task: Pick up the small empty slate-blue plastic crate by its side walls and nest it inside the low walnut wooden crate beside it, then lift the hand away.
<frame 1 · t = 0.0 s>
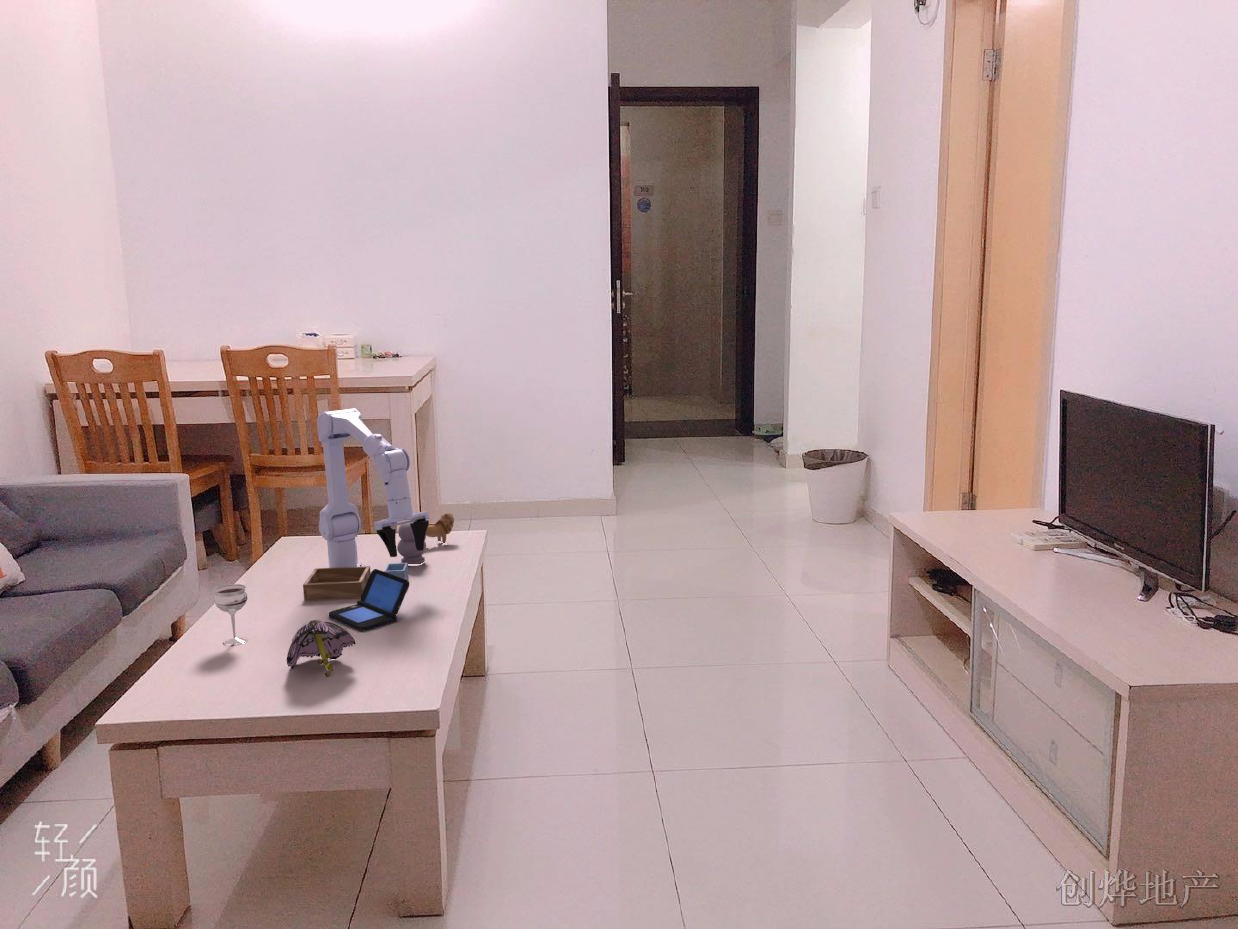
hand: (407, 553, 250), 11 cm above the table, tool pointing down, fingers open, 7 cm apart
dark domed piece: (320, 670, 206), on the table
grey rounded bulbous piece: (412, 564, 280), on the table
blue crate: (397, 583, 262), on the table
wineglass: (235, 642, 222), on the table
lion figurine: (433, 546, 298), on the table
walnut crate: (338, 590, 257), on the table
handheld game console: (369, 619, 236), on the table
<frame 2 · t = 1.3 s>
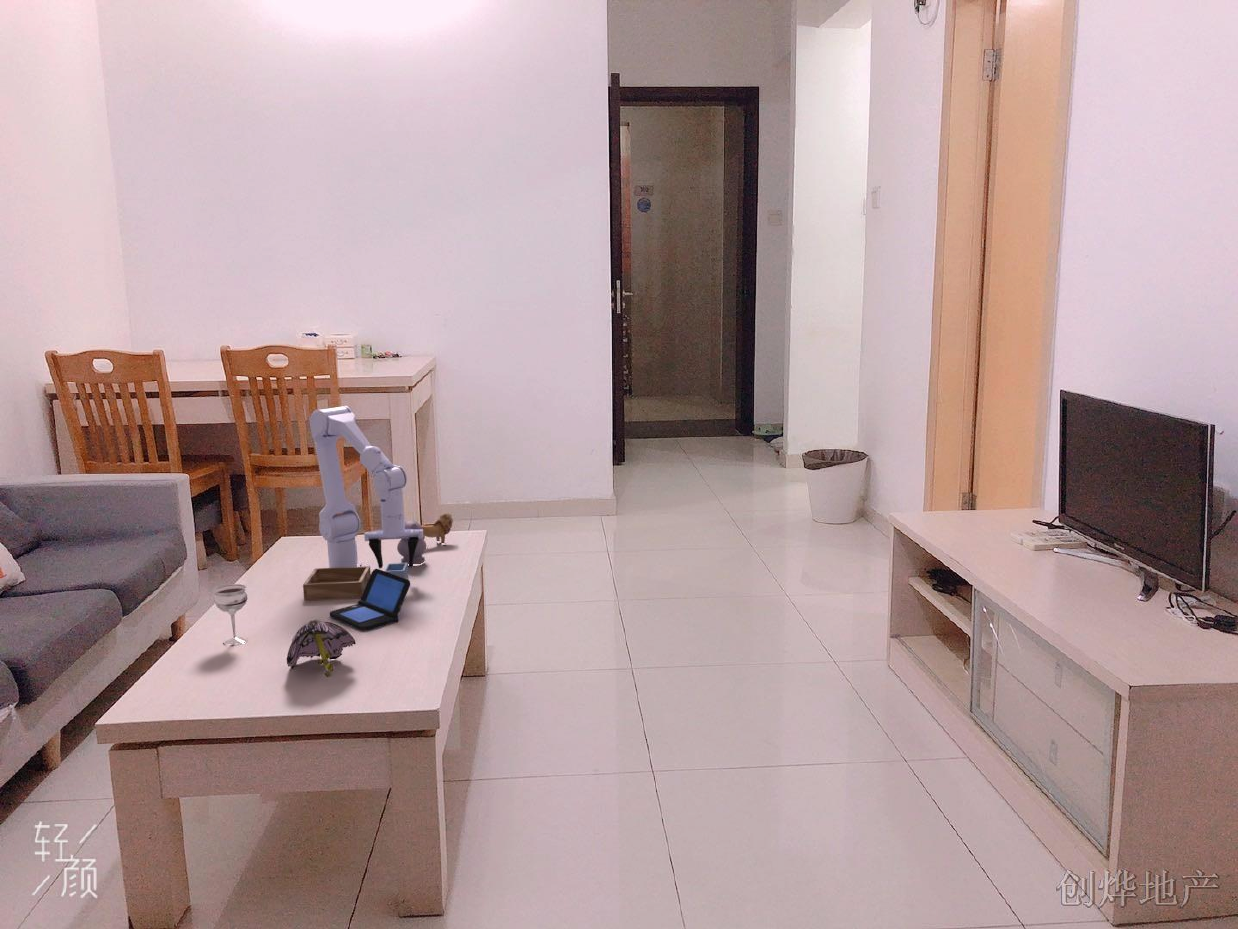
hand: (396, 566, 261), 4 cm above the table, tool pointing down, fingers open, 7 cm apart
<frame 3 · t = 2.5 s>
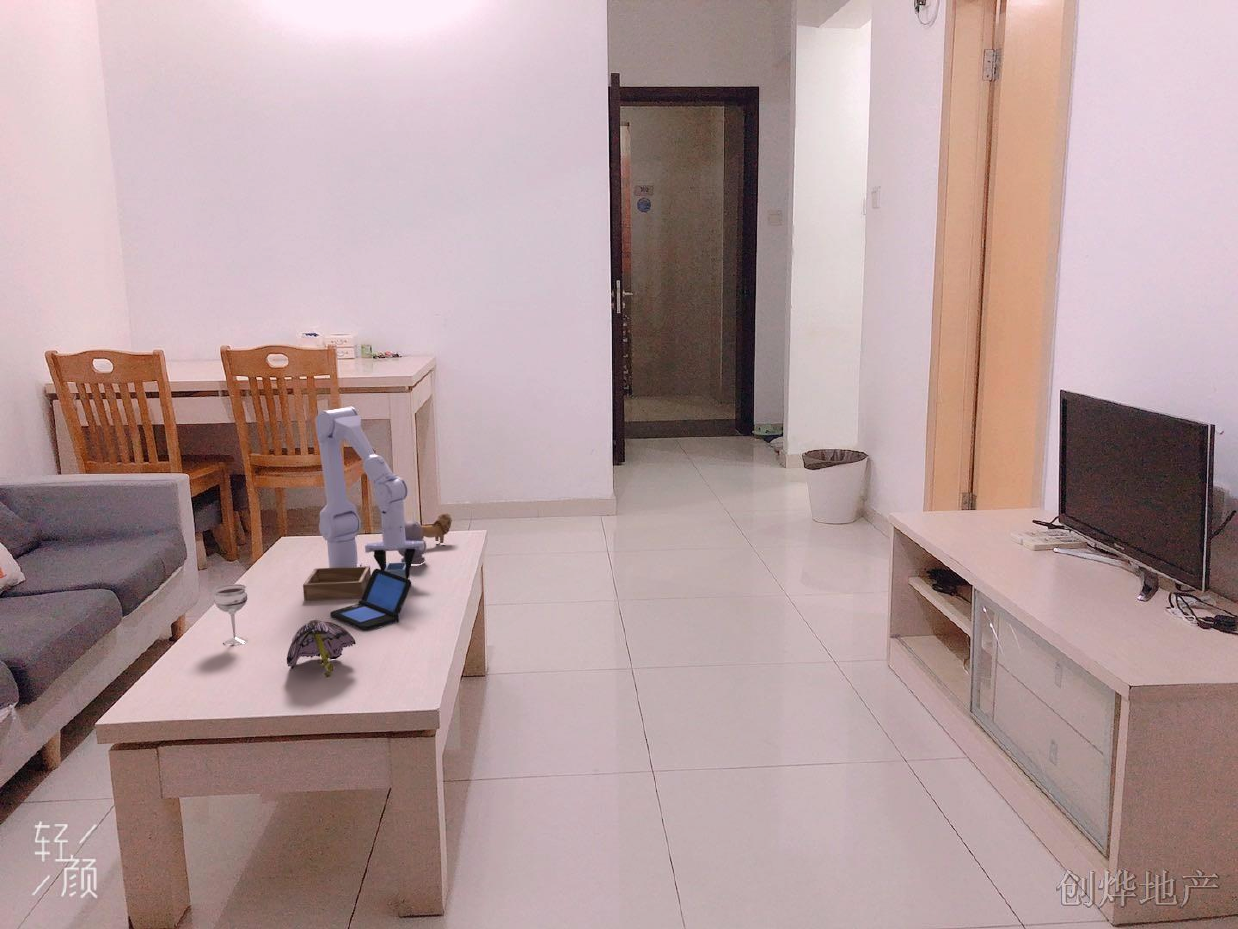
hand: (396, 577, 262), 1 cm above the table, tool pointing down, fingers closed on blue crate, 5 cm apart
blue crate: (397, 583, 262), on the table, touching gripper
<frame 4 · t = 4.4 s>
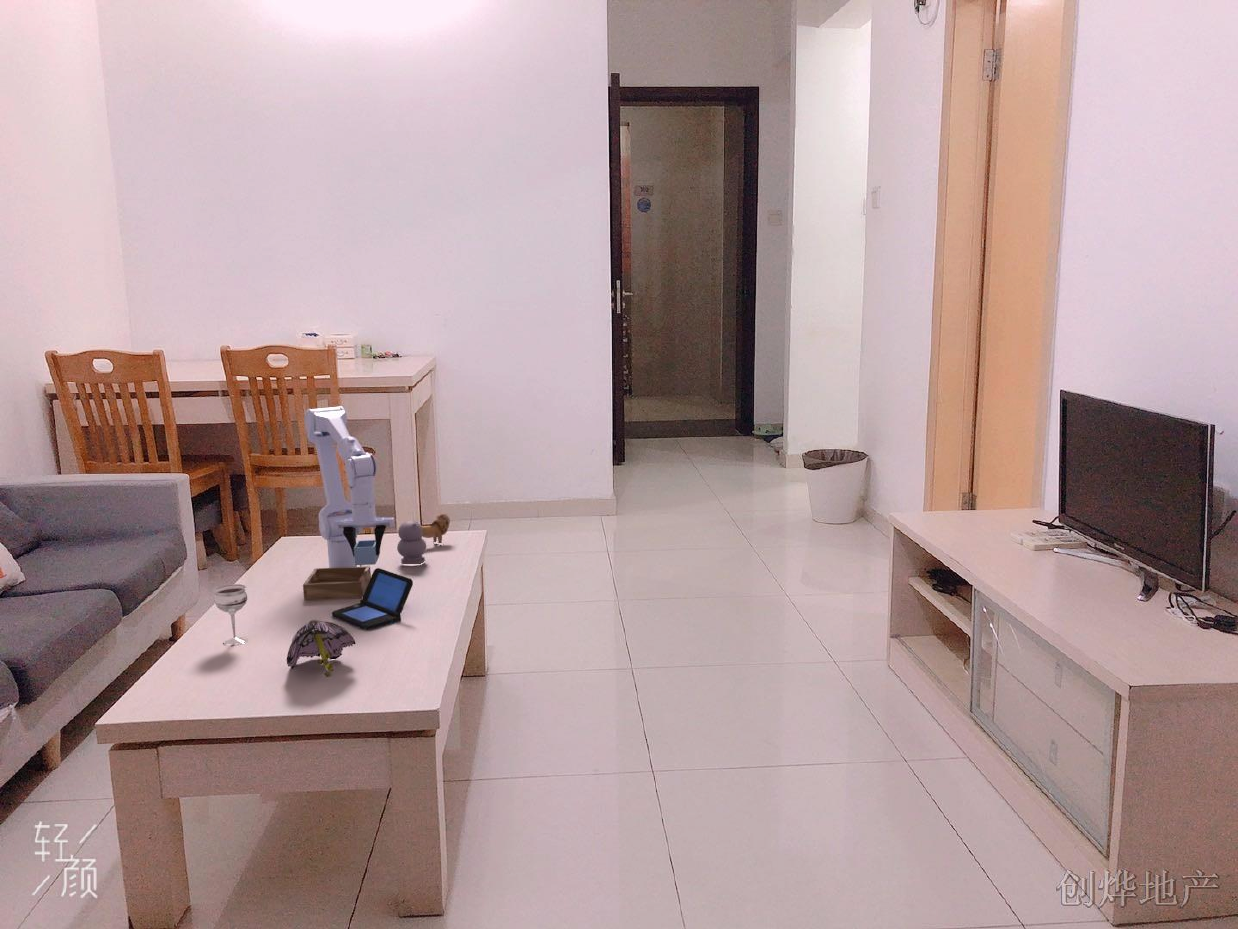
hand: (366, 555, 258), 8 cm above the table, tool pointing down, fingers closed on blue crate, 5 cm apart
blue crate: (367, 561, 258), point 7 cm above the table, touching gripper
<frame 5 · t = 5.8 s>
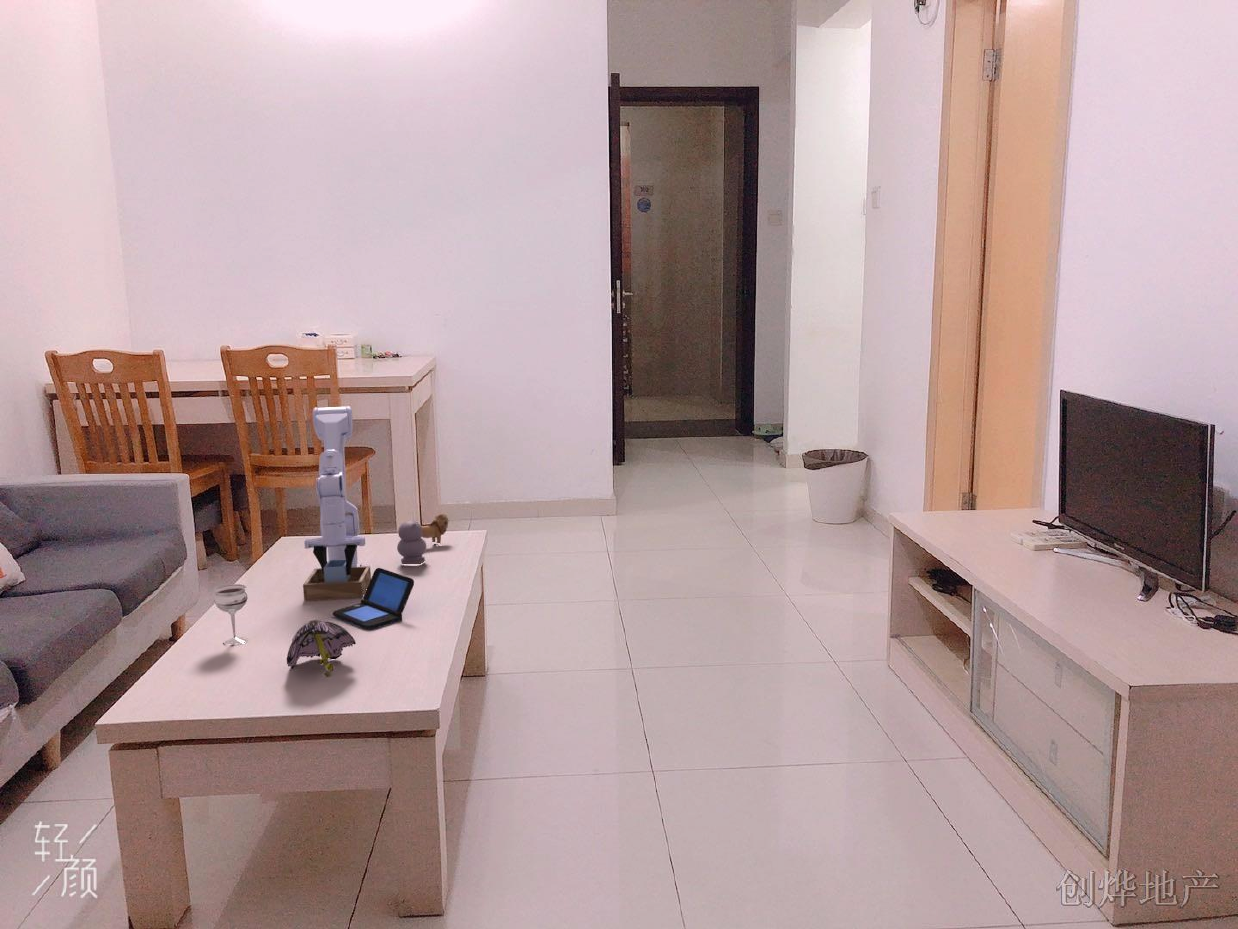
hand: (337, 574, 256), 4 cm above the table, tool pointing down, fingers closed on blue crate, 5 cm apart
blue crate: (337, 580, 256), point 3 cm above the table, touching gripper
when the fingers open (4 cm above the table, at t = 6.6 s): blue crate drops 2 cm, resting on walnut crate.
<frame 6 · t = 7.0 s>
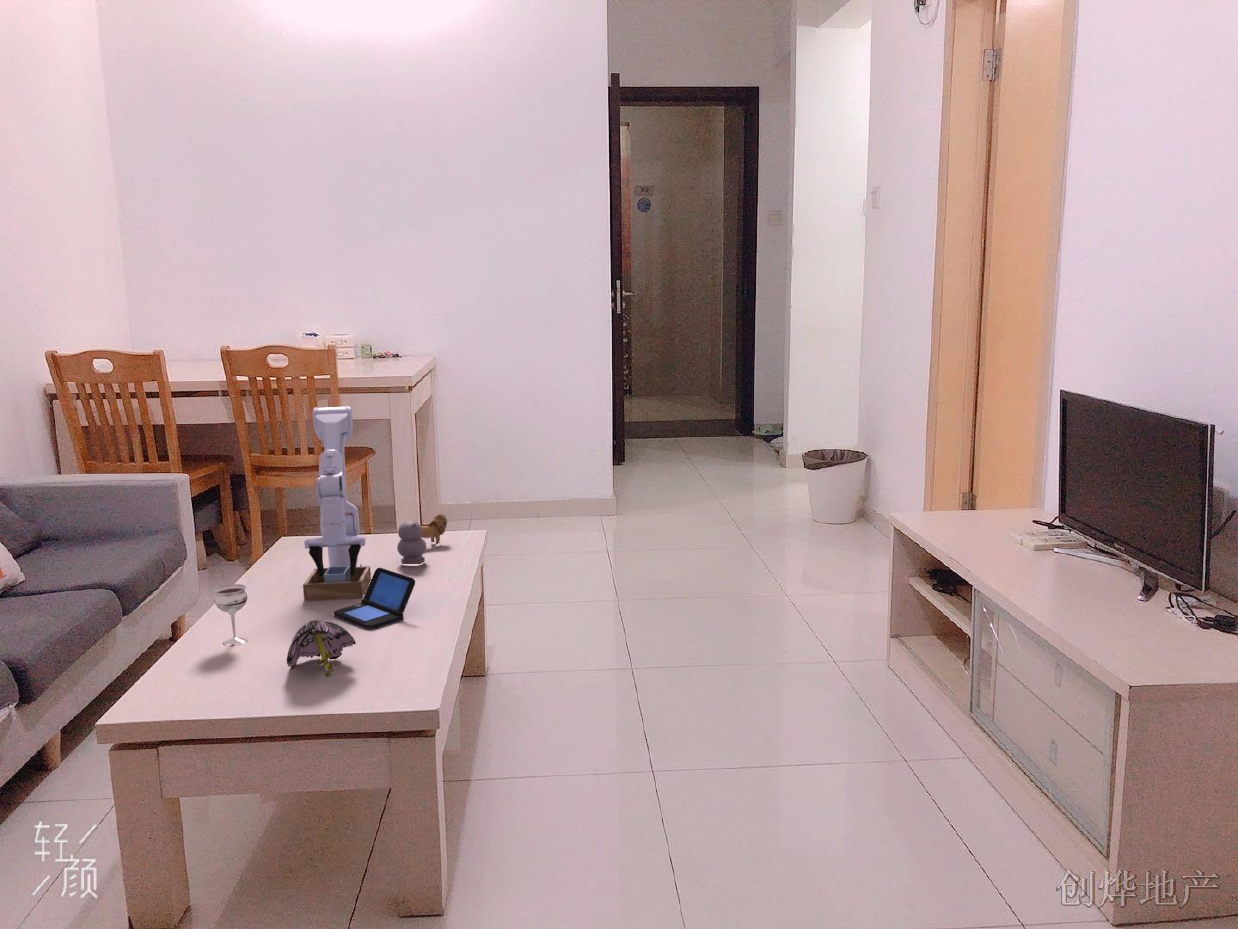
hand: (337, 574, 256), 4 cm above the table, tool pointing down, fingers open, 7 cm apart
blue crate: (338, 587, 257), point 1 cm above the table, touching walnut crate
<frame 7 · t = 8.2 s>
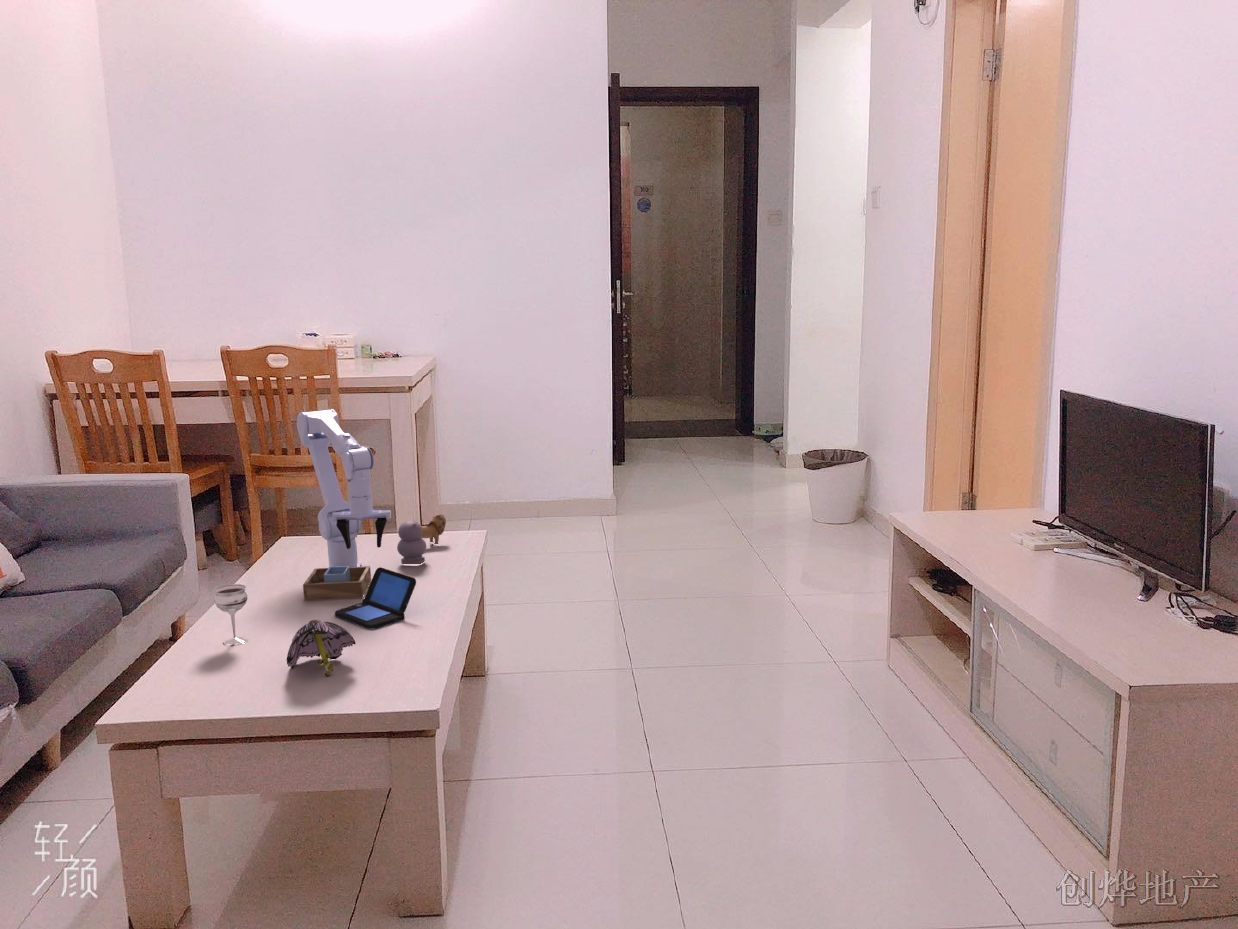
hand: (364, 547, 261), 9 cm above the table, tool pointing down, fingers open, 7 cm apart
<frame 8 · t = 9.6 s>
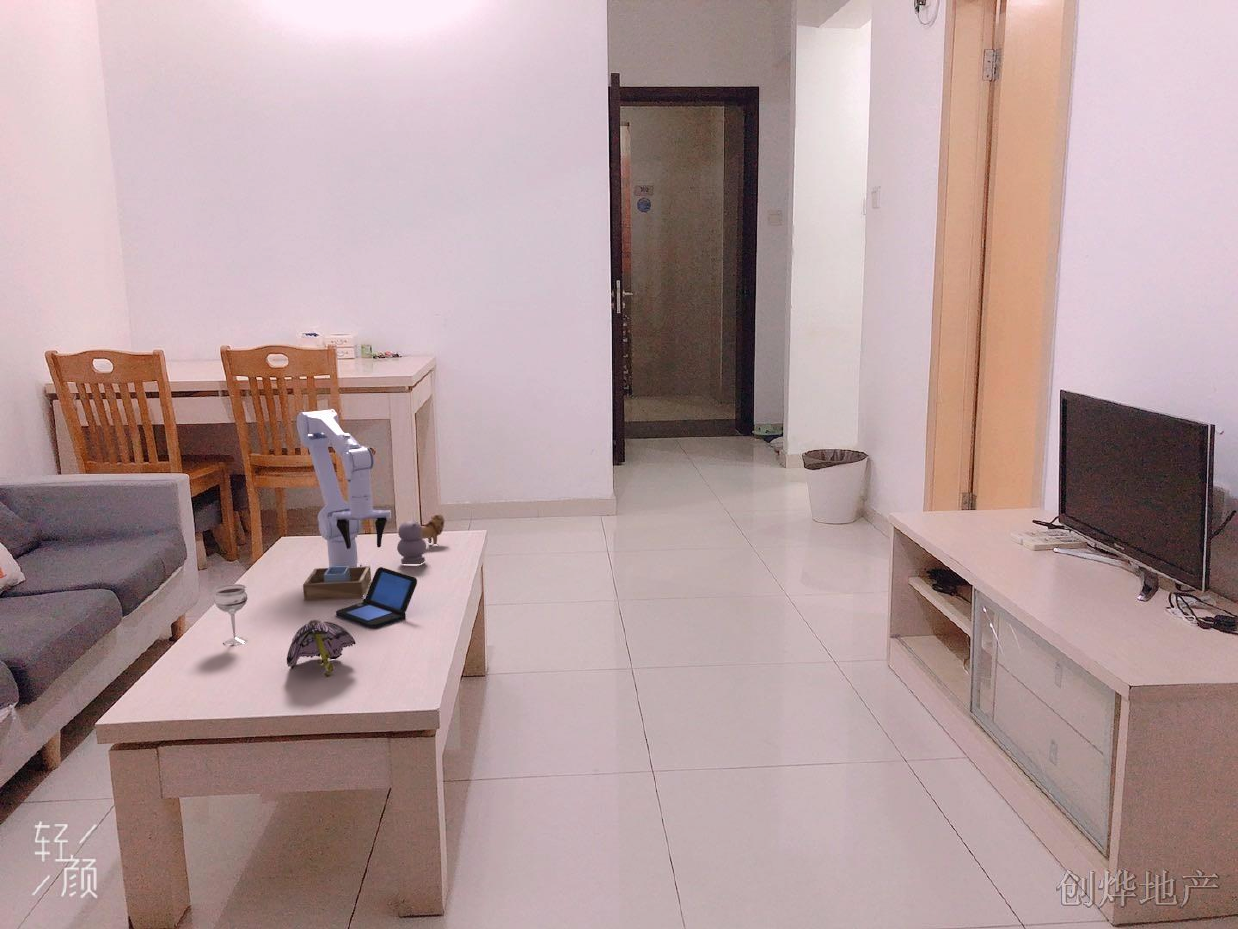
hand: (364, 547, 261), 9 cm above the table, tool pointing down, fingers open, 7 cm apart
at the end: blue crate inside the target area on the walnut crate (0.1 cm from its centre), point 0.8 cm above the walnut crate's base; blue crate tilted 0°; the gripper is holding nothing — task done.
